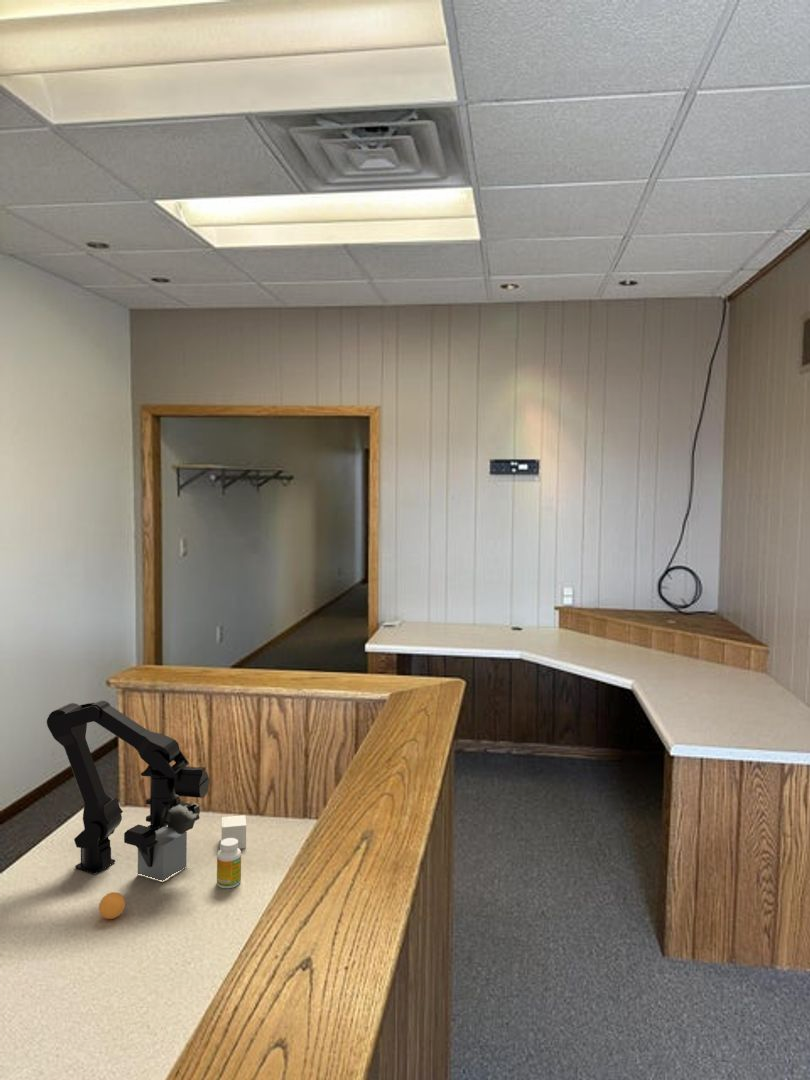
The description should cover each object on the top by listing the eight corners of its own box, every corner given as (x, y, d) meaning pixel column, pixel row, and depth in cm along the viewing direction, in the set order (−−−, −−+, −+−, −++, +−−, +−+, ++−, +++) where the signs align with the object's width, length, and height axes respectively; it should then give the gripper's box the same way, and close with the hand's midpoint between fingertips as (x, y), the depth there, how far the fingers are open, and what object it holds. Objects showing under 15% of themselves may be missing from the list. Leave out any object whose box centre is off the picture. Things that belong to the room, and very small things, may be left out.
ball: (93, 920, 150) (93, 896, 149) (112, 908, 154) (112, 885, 154) (111, 926, 148) (111, 902, 147) (130, 914, 152) (130, 891, 152)
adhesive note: (246, 848, 183) (246, 825, 182) (221, 850, 181) (221, 827, 181) (245, 837, 188) (245, 815, 188) (221, 839, 187) (221, 817, 186)
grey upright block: (137, 875, 168) (137, 838, 167) (161, 860, 175) (161, 825, 174) (163, 883, 165) (163, 845, 164) (186, 868, 172) (186, 831, 171)
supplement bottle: (234, 890, 162) (235, 848, 162) (212, 887, 163) (213, 845, 163) (244, 878, 168) (245, 837, 167) (223, 875, 169) (223, 835, 168)
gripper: (160, 816, 157) (160, 885, 158) (216, 786, 174) (215, 849, 175) (122, 806, 162) (122, 874, 162) (180, 778, 179) (179, 839, 179)
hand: (162, 858), depth 170 cm, fingers closed on grey upright block, 8 cm apart
